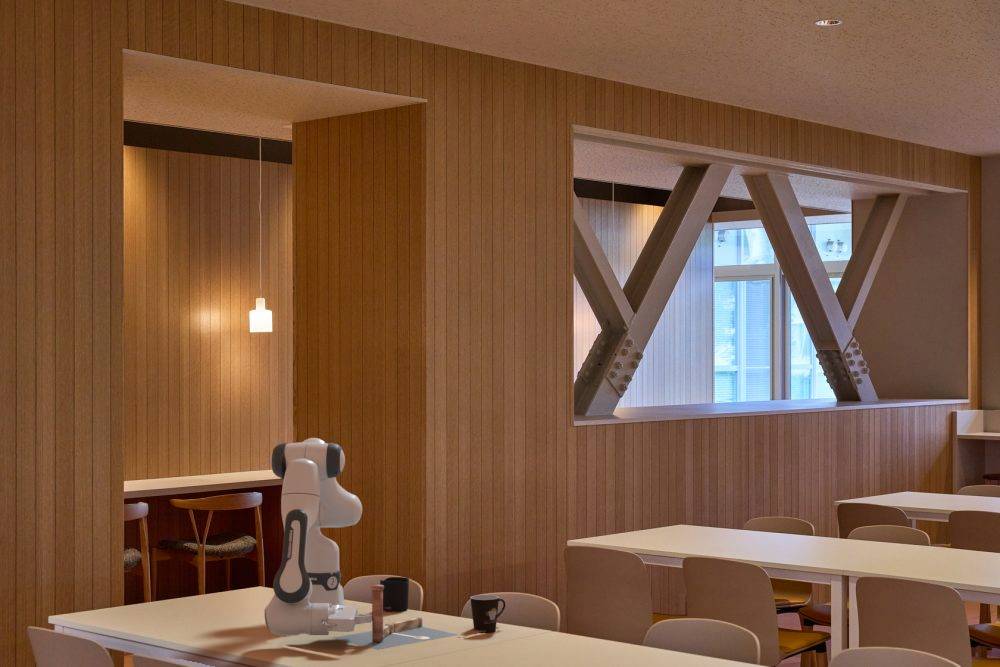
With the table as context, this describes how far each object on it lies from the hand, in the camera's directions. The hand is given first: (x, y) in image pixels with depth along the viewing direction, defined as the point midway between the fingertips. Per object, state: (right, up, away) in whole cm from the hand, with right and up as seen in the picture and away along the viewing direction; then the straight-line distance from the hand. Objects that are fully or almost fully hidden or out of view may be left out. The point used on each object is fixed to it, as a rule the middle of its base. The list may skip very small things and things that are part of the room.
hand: (372, 618), depth 352 cm
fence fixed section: (+8, -7, +18) cm, 21 cm away
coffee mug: (+33, -8, +20) cm, 39 cm away
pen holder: (+2, -10, +56) cm, 57 cm away
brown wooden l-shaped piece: (+2, -7, +5) cm, 9 cm away
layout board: (+6, -8, +9) cm, 13 cm away
